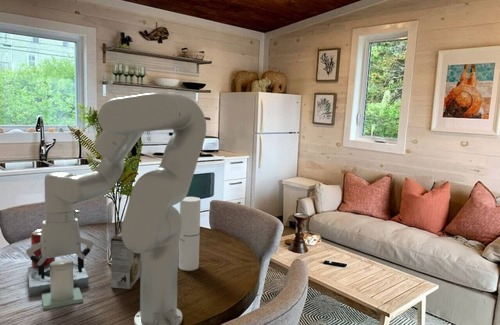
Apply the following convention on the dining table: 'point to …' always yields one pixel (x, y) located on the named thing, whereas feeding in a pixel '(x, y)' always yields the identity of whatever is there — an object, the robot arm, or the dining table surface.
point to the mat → (52, 304)
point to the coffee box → (123, 264)
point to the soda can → (35, 240)
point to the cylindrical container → (189, 233)
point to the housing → (43, 285)
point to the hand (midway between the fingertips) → (61, 273)
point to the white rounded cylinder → (61, 280)
